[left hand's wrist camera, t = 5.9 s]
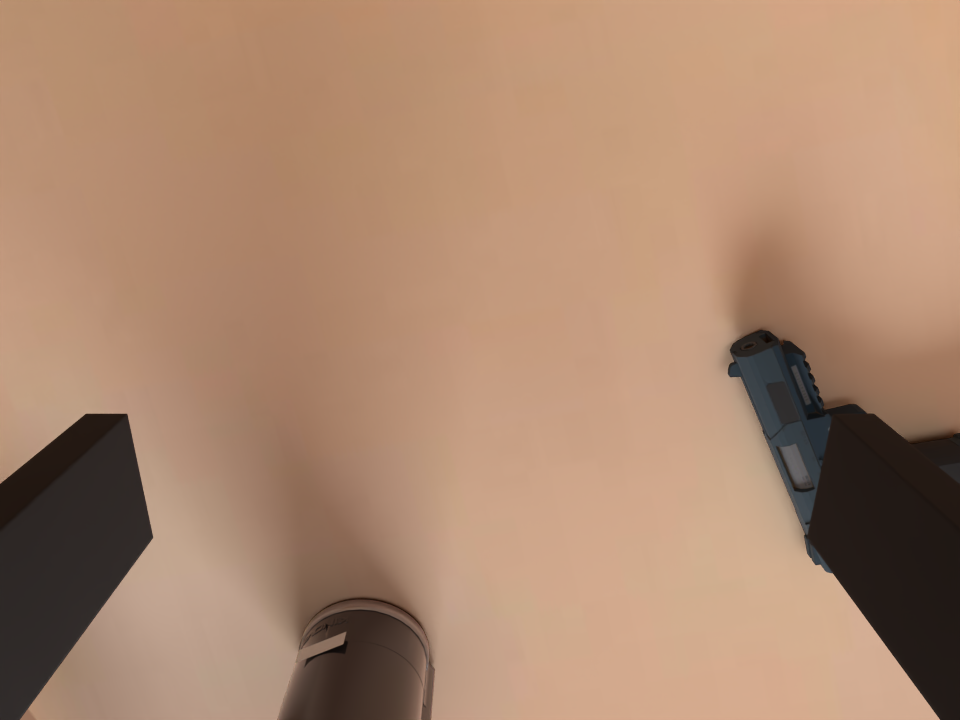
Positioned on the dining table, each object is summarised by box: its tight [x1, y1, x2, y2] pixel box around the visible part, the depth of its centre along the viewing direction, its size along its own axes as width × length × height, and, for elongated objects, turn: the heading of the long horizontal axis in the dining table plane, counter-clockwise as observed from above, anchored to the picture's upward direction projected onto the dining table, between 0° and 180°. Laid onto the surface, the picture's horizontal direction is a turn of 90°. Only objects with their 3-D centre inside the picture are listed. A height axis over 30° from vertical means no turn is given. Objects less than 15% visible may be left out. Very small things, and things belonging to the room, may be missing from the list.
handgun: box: [728, 330, 960, 573], centre depth 42 cm, size 3×17×12 cm
